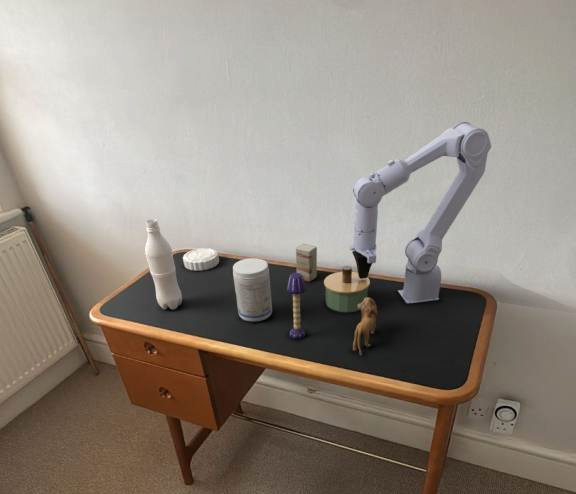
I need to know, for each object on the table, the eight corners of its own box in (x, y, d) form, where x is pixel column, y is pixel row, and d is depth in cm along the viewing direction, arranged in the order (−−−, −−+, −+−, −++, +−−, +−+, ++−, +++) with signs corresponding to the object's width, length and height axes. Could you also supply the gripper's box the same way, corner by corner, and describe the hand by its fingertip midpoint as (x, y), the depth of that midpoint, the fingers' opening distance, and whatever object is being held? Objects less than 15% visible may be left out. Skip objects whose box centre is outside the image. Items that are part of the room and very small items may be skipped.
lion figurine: (356, 324, 123) (358, 294, 117) (377, 326, 122) (379, 295, 116) (350, 356, 112) (352, 324, 106) (373, 358, 110) (375, 325, 105)
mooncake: (179, 270, 155) (177, 260, 153) (191, 256, 164) (189, 246, 162) (213, 271, 153) (212, 261, 151) (223, 256, 163) (222, 246, 160)
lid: (362, 272, 134) (363, 255, 130) (375, 292, 124) (376, 275, 121) (319, 277, 133) (319, 260, 129) (329, 298, 123) (329, 280, 120)
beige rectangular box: (296, 278, 146) (294, 248, 140) (303, 273, 149) (302, 243, 142) (310, 282, 143) (309, 251, 137) (317, 276, 146) (317, 246, 140)
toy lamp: (292, 328, 123) (289, 269, 112) (309, 330, 122) (307, 271, 111) (287, 338, 119) (283, 278, 109) (304, 340, 118) (302, 280, 108)
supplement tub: (240, 306, 134) (234, 258, 125) (273, 305, 133) (269, 256, 124) (237, 324, 126) (230, 274, 117) (272, 322, 126) (267, 272, 117)
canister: (360, 291, 137) (361, 271, 133) (372, 310, 128) (373, 289, 124) (322, 296, 136) (322, 276, 132) (330, 316, 127) (330, 295, 123)
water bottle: (188, 304, 136) (170, 219, 121) (168, 314, 132) (147, 227, 117) (174, 297, 140) (154, 214, 125) (154, 306, 136) (131, 222, 121)
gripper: (343, 220, 124) (342, 268, 133) (357, 240, 113) (355, 290, 122) (369, 217, 125) (366, 265, 133) (385, 237, 114) (381, 287, 122)
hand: (362, 277), depth 128 cm, fingers closed
